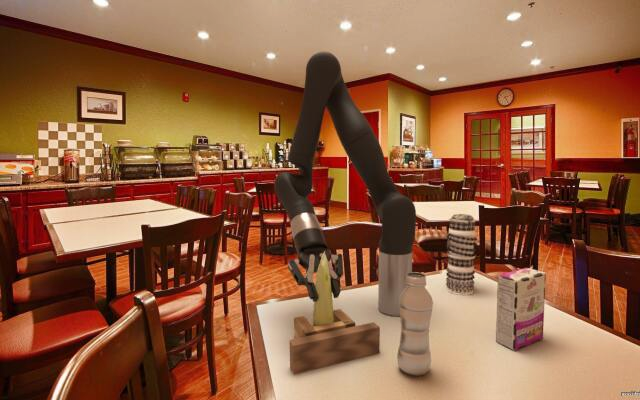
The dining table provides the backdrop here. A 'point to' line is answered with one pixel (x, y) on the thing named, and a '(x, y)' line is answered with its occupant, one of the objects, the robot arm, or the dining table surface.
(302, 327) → the block
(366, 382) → the dining table surface
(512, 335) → the candy bar box
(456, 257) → the decorative candle
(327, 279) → the tube
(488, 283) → the dining table surface
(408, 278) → the plastic bottle
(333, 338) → the wooden plank
